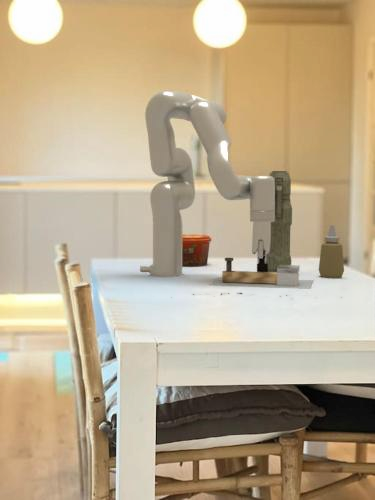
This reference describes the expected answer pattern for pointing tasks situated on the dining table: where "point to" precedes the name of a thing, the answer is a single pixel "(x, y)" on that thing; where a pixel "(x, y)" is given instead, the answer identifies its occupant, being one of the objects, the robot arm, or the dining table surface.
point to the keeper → (287, 275)
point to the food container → (195, 250)
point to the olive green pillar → (280, 222)
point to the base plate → (262, 284)
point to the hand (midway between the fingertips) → (262, 276)
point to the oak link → (247, 275)
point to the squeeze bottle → (331, 256)
